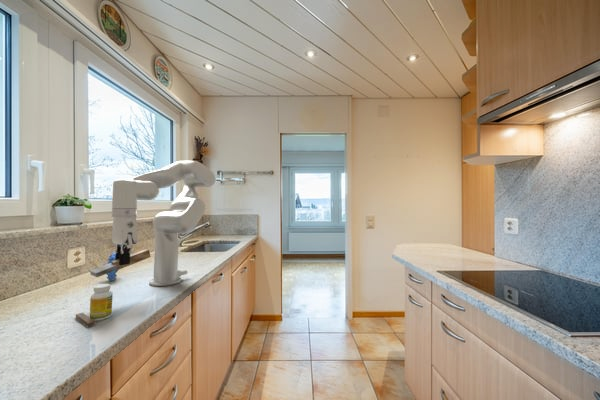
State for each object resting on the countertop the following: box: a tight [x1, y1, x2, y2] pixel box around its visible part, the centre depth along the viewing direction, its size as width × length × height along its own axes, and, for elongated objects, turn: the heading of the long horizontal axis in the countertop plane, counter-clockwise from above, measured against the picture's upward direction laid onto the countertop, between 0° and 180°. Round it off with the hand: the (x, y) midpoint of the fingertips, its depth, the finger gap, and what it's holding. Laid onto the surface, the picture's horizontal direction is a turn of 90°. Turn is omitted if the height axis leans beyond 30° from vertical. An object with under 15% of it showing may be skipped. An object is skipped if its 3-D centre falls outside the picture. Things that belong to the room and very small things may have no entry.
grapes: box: [102, 252, 119, 282], centre depth 117 cm, size 12×7×12 cm, turn 27°
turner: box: [89, 248, 152, 278], centre depth 93 cm, size 18×6×3 cm, turn 146°
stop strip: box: [75, 312, 96, 328], centre depth 75 cm, size 2×10×1 cm, turn 57°
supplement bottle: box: [89, 283, 113, 322], centre depth 78 cm, size 5×5×10 cm
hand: (122, 263), depth 93 cm, fingers closed on turner, 2 cm apart
